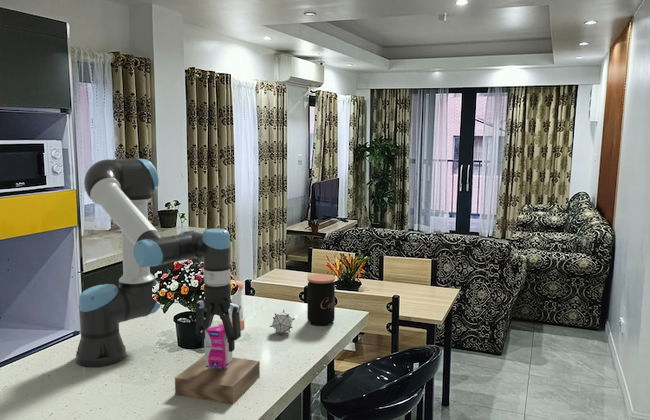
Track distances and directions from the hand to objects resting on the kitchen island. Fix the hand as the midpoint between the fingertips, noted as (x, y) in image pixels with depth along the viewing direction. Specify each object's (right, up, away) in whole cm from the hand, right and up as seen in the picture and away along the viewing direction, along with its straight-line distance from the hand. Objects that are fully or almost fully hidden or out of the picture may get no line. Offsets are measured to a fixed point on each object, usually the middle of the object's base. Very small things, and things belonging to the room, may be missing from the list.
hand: (218, 359), depth 161 cm
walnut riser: (0, -8, +1) cm, 8 cm away
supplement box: (0, -2, 0) cm, 2 cm away
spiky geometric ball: (+15, -2, +44) cm, 47 cm away
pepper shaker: (-3, -1, +49) cm, 49 cm away
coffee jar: (+29, -1, +56) cm, 64 cm away
